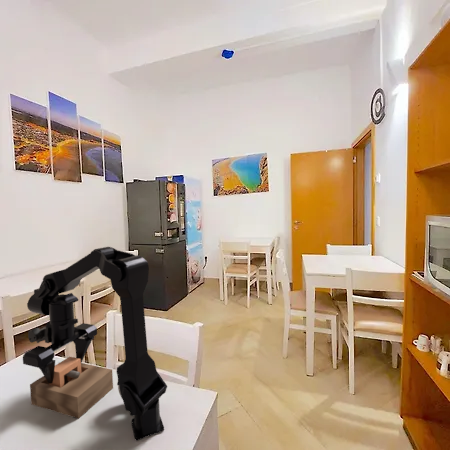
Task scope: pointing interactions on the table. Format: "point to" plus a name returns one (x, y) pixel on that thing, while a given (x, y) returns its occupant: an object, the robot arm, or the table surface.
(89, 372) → the wooden divided tray
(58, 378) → the staple
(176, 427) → the table surface
